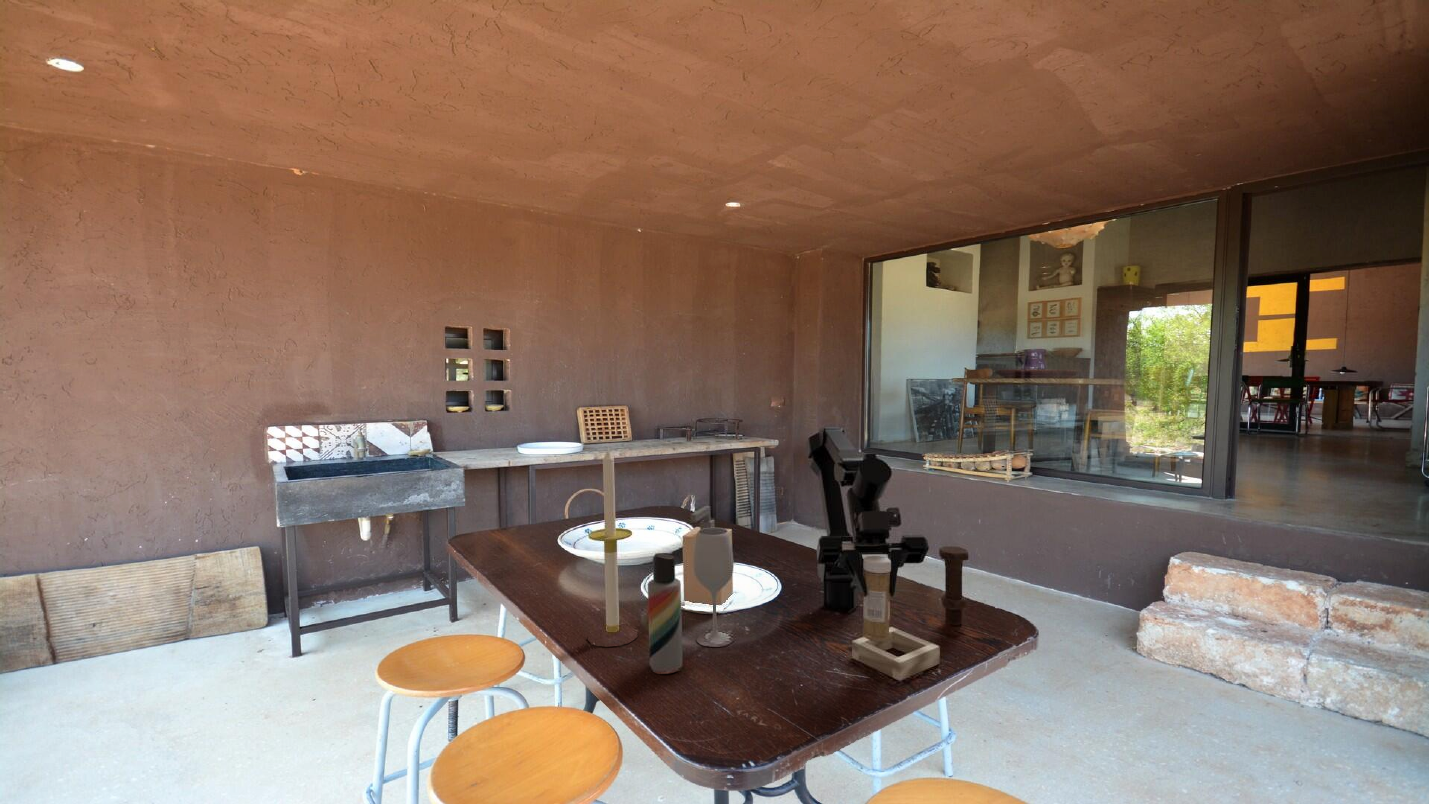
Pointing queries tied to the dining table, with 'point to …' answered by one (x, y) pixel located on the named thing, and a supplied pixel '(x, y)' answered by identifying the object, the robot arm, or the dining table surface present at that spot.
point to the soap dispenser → (691, 585)
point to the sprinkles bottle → (876, 598)
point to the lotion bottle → (664, 615)
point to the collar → (902, 667)
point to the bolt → (953, 583)
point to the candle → (610, 544)
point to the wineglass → (713, 568)
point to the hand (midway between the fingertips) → (878, 595)
